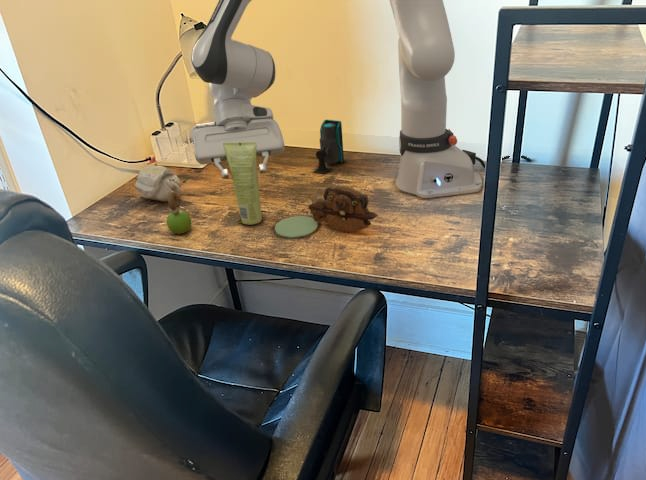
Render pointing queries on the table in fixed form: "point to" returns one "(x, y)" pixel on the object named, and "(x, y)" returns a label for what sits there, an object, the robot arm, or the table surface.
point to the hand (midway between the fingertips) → (244, 175)
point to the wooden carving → (343, 209)
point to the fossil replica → (156, 182)
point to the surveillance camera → (330, 145)
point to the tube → (245, 179)
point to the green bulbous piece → (177, 213)
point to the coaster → (296, 226)
